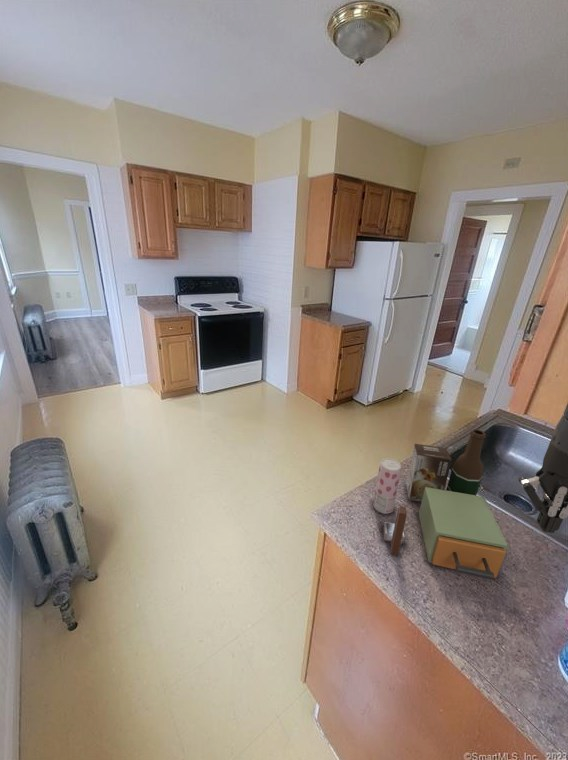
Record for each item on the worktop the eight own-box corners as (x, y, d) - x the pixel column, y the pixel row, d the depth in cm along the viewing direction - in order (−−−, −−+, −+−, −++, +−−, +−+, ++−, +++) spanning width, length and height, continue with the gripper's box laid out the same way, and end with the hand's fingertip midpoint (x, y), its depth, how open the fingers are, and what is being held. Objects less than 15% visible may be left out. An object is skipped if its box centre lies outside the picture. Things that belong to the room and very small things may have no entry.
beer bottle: (457, 490, 100) (476, 422, 91) (479, 507, 93) (502, 436, 84) (438, 496, 97) (456, 427, 88) (459, 514, 91) (481, 442, 82)
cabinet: (496, 576, 73) (508, 545, 70) (428, 562, 76) (436, 532, 73) (475, 524, 87) (484, 496, 84) (418, 514, 90) (425, 486, 87)
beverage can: (397, 510, 92) (406, 467, 86) (382, 517, 89) (390, 472, 84) (383, 497, 96) (391, 455, 91) (368, 503, 94) (375, 460, 88)
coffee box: (436, 491, 99) (447, 447, 93) (441, 506, 94) (453, 460, 88) (405, 486, 101) (414, 442, 95) (408, 500, 96) (417, 454, 90)
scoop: (401, 532, 84) (409, 492, 80) (404, 556, 78) (413, 515, 73) (383, 528, 85) (390, 489, 81) (384, 552, 79) (392, 511, 74)
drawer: (504, 598, 68) (515, 572, 65) (436, 583, 71) (444, 557, 68) (476, 528, 85) (483, 505, 82) (422, 518, 88) (428, 495, 85)
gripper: (545, 453, 49) (513, 538, 55) (650, 467, 46) (603, 554, 53) (523, 429, 56) (497, 507, 62) (613, 440, 53) (576, 520, 59)
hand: (545, 528), depth 57 cm, fingers closed
